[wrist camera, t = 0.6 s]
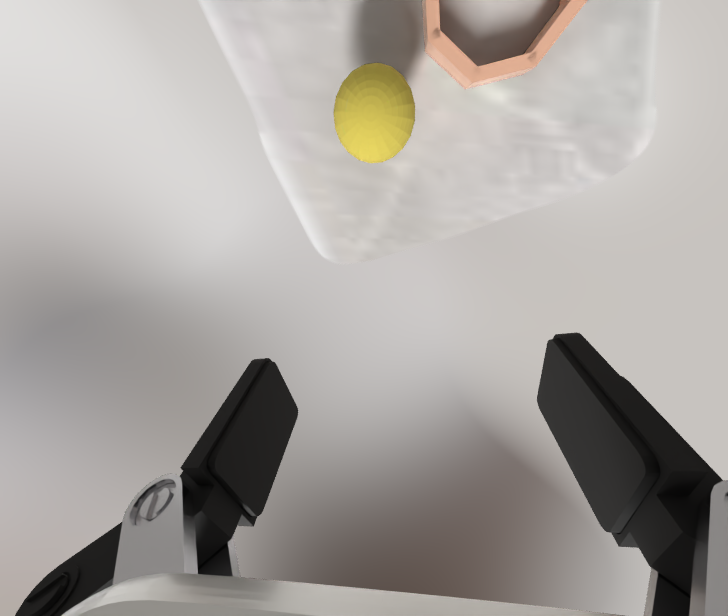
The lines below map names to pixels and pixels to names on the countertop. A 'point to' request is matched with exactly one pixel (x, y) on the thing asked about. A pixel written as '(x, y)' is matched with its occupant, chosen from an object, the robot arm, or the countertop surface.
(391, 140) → the light bulb
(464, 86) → the terracotta ring
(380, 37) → the countertop surface
